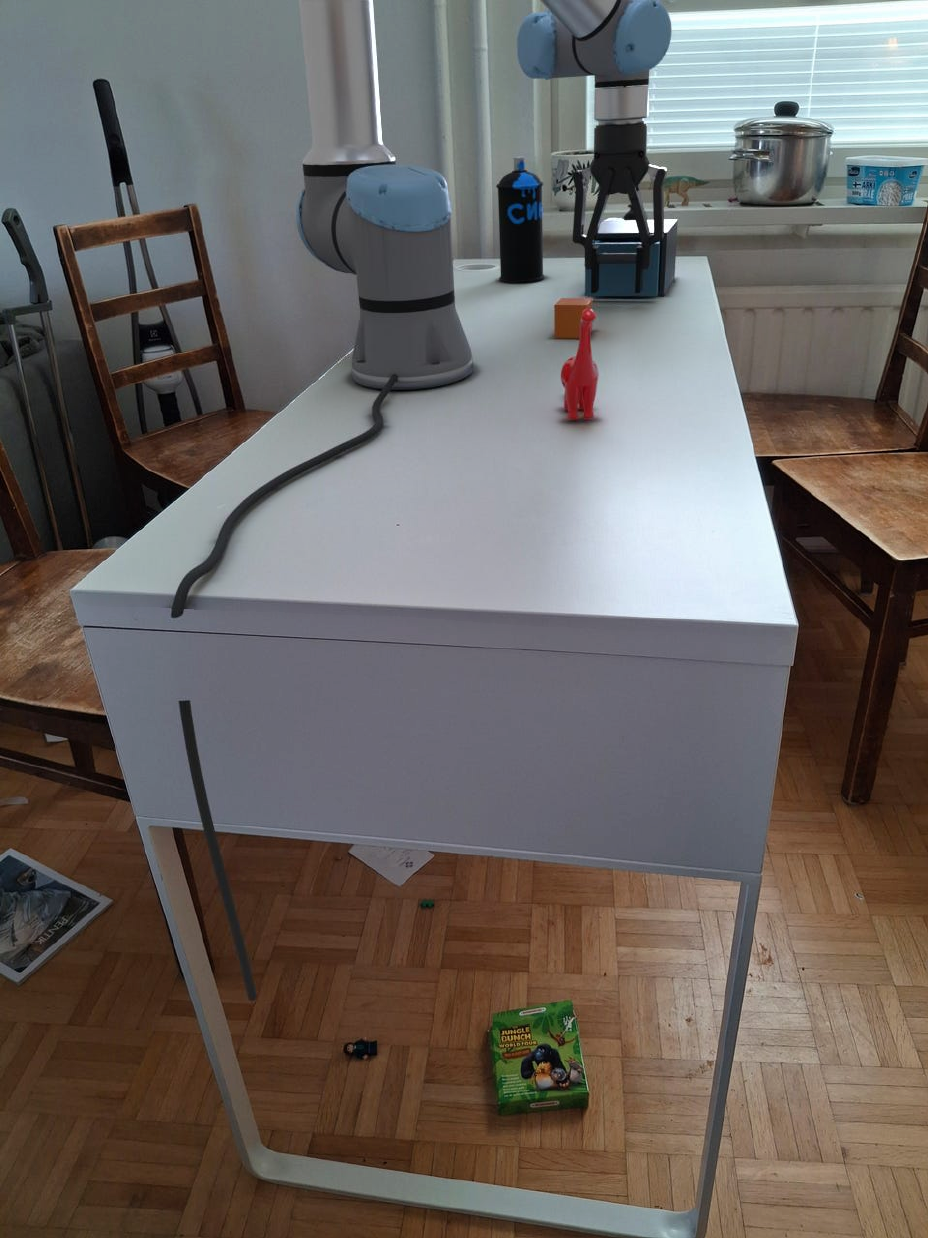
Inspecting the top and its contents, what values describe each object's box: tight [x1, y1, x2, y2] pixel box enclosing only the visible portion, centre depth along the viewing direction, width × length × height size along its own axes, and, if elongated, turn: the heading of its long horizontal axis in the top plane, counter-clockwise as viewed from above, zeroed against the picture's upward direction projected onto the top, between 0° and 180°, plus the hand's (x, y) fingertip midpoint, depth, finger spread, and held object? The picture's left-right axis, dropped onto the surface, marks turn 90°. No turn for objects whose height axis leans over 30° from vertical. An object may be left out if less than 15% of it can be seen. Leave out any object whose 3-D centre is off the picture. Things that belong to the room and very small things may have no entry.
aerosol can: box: [495, 156, 545, 284], centre depth 165 cm, size 8×8×20 cm
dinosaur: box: [560, 309, 599, 421], centre depth 96 cm, size 4×15×12 cm, turn 1°
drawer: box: [584, 238, 662, 297], centre depth 149 cm, size 18×11×8 cm, turn 163°
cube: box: [553, 297, 594, 339], centre depth 130 cm, size 4×4×4 cm
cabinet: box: [595, 218, 679, 297], centre depth 156 cm, size 15×13×10 cm
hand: (616, 290), depth 144 cm, fingers closed on drawer, 6 cm apart
